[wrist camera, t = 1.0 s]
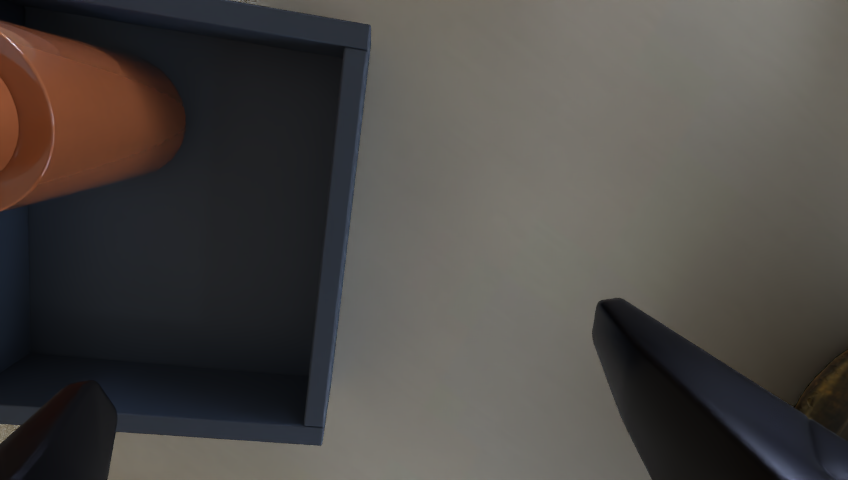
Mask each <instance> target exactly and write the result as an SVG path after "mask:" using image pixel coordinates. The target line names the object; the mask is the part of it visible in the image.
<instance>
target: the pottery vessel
mask: <svg viewBox="0 0 848 480" xmlns="http://www.w3.org/2000/svg"><path fill="white" fill-rule="evenodd" d="M795 409H797V410H798V411H800V412H802V413H803V414H805V415H806V416H807V418H808V420H809V419H813V420H815V421H816V422H818V423H819V424H821V425H822V426H824V427H826V428H827V429H829V430H830V431H832V432H833V433H835V434H837V435H838V436H840V437H841V438H843V439H845V440H846V441H848V350H846V351H845V352H843V353H842V354H841V355H839V356H838V357H836V358H835V359H834V360H833V361H832V362H831V363H829V364H828V366H827V367H826V368H825V369H824V370H822V371H821V373H820V374H819V375H818V376H816V377H815V379H814V380H813V381H812V382H811V384H810V385H809V386H808V387H807V388H806V389H805V391H804V393H803V394H802V395H801V397H800V399H799V401H798V403H797V405H796V407H795Z"/></svg>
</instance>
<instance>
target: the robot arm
mask: <svg viewBox="0 0 848 480" xmlns="http://www.w3.org/2000/svg"><path fill="white" fill-rule="evenodd" d="M592 337H593V342H594V345H595V348H596V351H597V354H598V356H599V359H600V362H601V365H602V367H603V370H604V373H605V375H606V378H607V381H608V384H609V386H610V389H611V392H612V394H613V397H614V400H615V403H616V405H617V408H618V410H619V413H620V416H621V418H622V420H623V422H624V424H625V426H626V429H627V431H628V433H629V435H630V437H631V439H632V441H633V443H634V445H635V447H636V449H637V451H638V453H639V455H640V457H641V459H642V461H643V463H644V465H645V467H646V469H647V471H648V473H649V475H650V477H651V479H652V480H848V441H846V440H845V439H843V438H841V437H840V436H838V435H837V434H835V433H833V432H832V431H830V430H829V429H827V428H826V427H824V426H822V425H821V424H819V423H818V422H816V421H815V420H813V419H809V420H808V418H807V416H806V415H805V414H803V413H802V412H800V411H798V410H797V409H795V408H794V407H792V406H791V405H789V404H787V403H786V402H784V401H783V400H781V399H780V398H778V397H776V396H775V395H773V394H772V393H770V392H769V391H767V390H765V389H764V388H762V387H761V386H759V385H758V384H756V383H754V382H753V381H751V380H750V379H748V378H747V377H745V376H743V375H742V374H740V373H739V372H737V371H736V370H734V369H732V368H731V367H729V366H728V365H726V364H725V363H723V362H721V361H720V360H718V359H717V358H715V357H714V356H712V355H710V354H709V353H707V352H706V351H704V350H703V349H701V348H699V347H698V346H696V345H695V344H693V343H692V342H690V341H688V340H687V339H685V338H684V337H682V336H681V335H679V334H677V333H676V332H674V331H673V330H671V329H670V328H668V327H666V326H665V325H663V324H662V323H660V322H658V321H657V320H655V319H654V318H652V317H651V316H649V315H647V314H646V313H644V312H643V311H641V310H640V309H638V308H636V307H635V306H633V305H632V304H630V303H629V302H627V301H625V300H624V299H621V298H613V299H606V300H601V301H599V302H598V304H597V306H596V311H595V318H594V324H593V330H592ZM117 420H118V418H117V411H116V408H115V406H114V405H113V403H112V402H111V400H110V399H109V397H108V396H107V394H106V393H105V392H104V390H103V389H102V387H101V386H100V384H99V383H98V382H96V381H94V380H86V381H80V382H74V383H70V384H68V385H66V386H65V387H63V388H62V389H61V390H60V391H59V392H58V393H57V394H55V395H54V396H53V397H52V398H51V399H50V400H49V401H48V402H47V403H45V404H44V405H43V406H42V407H41V408H40V409H39V410H38V411H36V412H35V413H34V414H33V415H32V416H31V417H30V418H29V419H28V420H26V421H25V422H24V423H23V424H22V425H21V426H20V427H19V428H17V429H16V430H15V431H14V432H13V433H12V434H11V435H10V436H9V437H7V438H6V439H5V440H4V441H3V442H2V443H1V444H0V480H107V479H108V474H109V468H110V462H111V456H112V450H113V444H114V439H115V433H116V427H117Z"/></svg>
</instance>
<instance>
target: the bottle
mask: <svg viewBox="0 0 848 480" xmlns="http://www.w3.org/2000/svg"><path fill="white" fill-rule="evenodd" d="M185 128H186V116H185V110H184V106H183V103H182V100H181V97H180V95H179V93H178V91H177V89H176V88H175V86H174V84H173V83H172V82H171V80H170V79H169V78H168V77H167V76H166V75H165V74H164V73H163V72H162V71H161V70H160V69H159V68H157V67H156V66H155V65H153V64H152V63H150V62H149V61H147V60H145V59H142V58H140V57H138V56H135V55H132V54H128V53H124V52H120V51H117V50H113V49H109V48H105V47H101V46H98V45H94V44H90V43H86V42H82V41H78V40H75V39H71V38H67V37H63V36H59V35H56V34H52V33H48V32H44V31H40V30H36V29H33V28H29V27H25V26H21V25H17V24H14V23H10V22H6V21H2V20H0V212H4V211H8V210H12V209H15V208H19V207H23V206H27V205H31V204H35V203H39V202H43V201H47V200H50V199H54V198H58V197H62V196H66V195H70V194H74V193H78V192H82V191H86V190H89V189H93V188H97V187H101V186H105V185H109V184H113V183H117V182H121V181H124V180H128V179H132V178H136V177H140V176H144V175H147V174H150V173H153V172H155V171H157V170H159V169H161V168H162V167H164V166H165V165H166V164H167V163H168V162H170V161H171V160H172V158H173V157H174V156H175V155H176V153H177V152H178V150H179V148H180V146H181V144H182V142H183V138H184V134H185Z"/></svg>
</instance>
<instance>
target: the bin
mask: <svg viewBox="0 0 848 480" xmlns="http://www.w3.org/2000/svg"><path fill="white" fill-rule="evenodd" d="M0 20H2V21H6V22H10V23H14V24H17V25H21V26H25V27H29V28H33V29H36V30H40V31H44V32H48V33H52V34H56V35H59V36H63V37H67V38H71V39H75V40H78V41H82V42H86V43H90V44H94V45H98V46H101V47H105V48H109V49H113V50H117V51H120V52H124V53H128V54H132V55H135V56H138V57H140V58H142V59H145V60H147V61H149V62H150V63H152V64H153V65H155V66H156V67H157V68H159V69H160V70H161V71H162V72H163V73H164V74H165V75H166V76H167V77H168V78H169V79H170V80H171V82H172V83H173V84H174V86H175V88H176V89H177V91H178V93H179V95H180V97H181V100H182V103H183V106H184V110H185V116H186V128H185V134H184V138H183V142H182V144H181V146H180V148H179V150H178V152H177V153H176V155H175V156H174V157H173V158H172V160H171V161H170V162H168V163H167V164H166V165H165V166H164V167H162V168H161V169H159V170H157V171H155V172H153V173H150V174H147V175H144V176H140V177H136V178H132V179H128V180H124V181H121V182H117V183H113V184H109V185H105V186H101V187H97V188H93V189H89V190H86V191H82V192H78V193H74V194H70V195H66V196H62V197H58V198H54V199H50V200H47V201H43V202H39V203H35V204H31V205H27V206H23V207H19V208H15V209H12V210H8V211H4V212H0V424H10V425H22V424H23V423H24V422H25V421H26V420H28V419H29V418H30V417H31V416H32V415H33V414H34V413H35V412H36V411H38V410H39V409H40V408H41V407H42V406H43V405H44V404H45V403H47V402H48V401H49V400H50V399H51V398H52V397H53V396H54V395H55V394H57V393H58V392H59V391H60V390H61V389H62V388H63V387H65V386H66V385H68V384H70V383H74V382H80V381H86V380H94V381H96V382H98V383H99V384H100V386H101V387H102V389H103V390H104V392H105V393H106V394H107V396H108V397H109V399H110V400H111V402H112V403H113V405H114V406H115V408H116V411H117V418H118V420H117V427H116V432H128V433H142V434H157V435H172V436H186V437H201V438H216V439H230V440H245V441H260V442H274V443H289V444H304V445H318V446H321V445H322V442H323V435H324V428H325V422H326V415H327V408H328V402H329V395H330V388H331V380H332V372H333V363H334V355H335V346H336V338H337V329H338V321H339V312H340V304H341V295H342V287H343V278H344V270H345V261H346V253H347V244H348V236H349V227H350V219H351V210H352V202H353V193H354V185H355V176H356V168H357V159H358V151H359V142H360V134H361V125H362V117H363V108H364V100H365V91H366V83H367V74H368V66H369V57H370V49H371V25H369V24H363V23H357V22H351V21H345V20H340V19H334V18H328V17H322V16H316V15H311V14H305V13H299V12H293V11H287V10H282V9H276V8H270V7H264V6H259V5H253V4H247V3H241V2H235V1H230V0H0Z"/></svg>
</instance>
